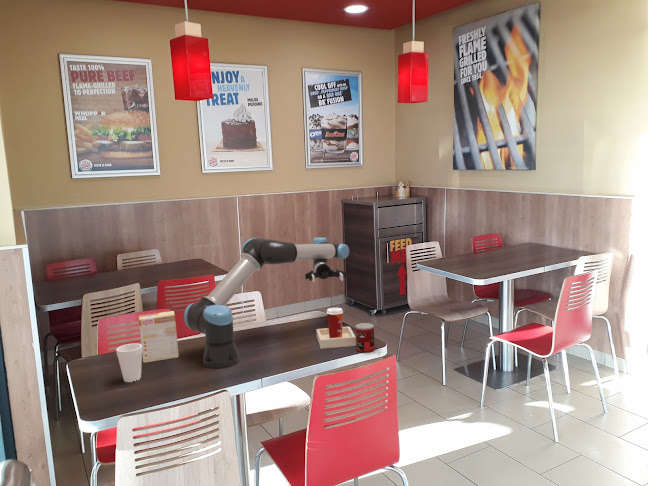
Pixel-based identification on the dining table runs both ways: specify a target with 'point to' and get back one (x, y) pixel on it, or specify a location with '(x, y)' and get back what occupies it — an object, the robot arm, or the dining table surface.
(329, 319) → the paper cup
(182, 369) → the dining table surface
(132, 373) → the foam cup
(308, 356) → the dining table surface
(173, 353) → the coffeecake box
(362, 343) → the canned food
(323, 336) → the tray
